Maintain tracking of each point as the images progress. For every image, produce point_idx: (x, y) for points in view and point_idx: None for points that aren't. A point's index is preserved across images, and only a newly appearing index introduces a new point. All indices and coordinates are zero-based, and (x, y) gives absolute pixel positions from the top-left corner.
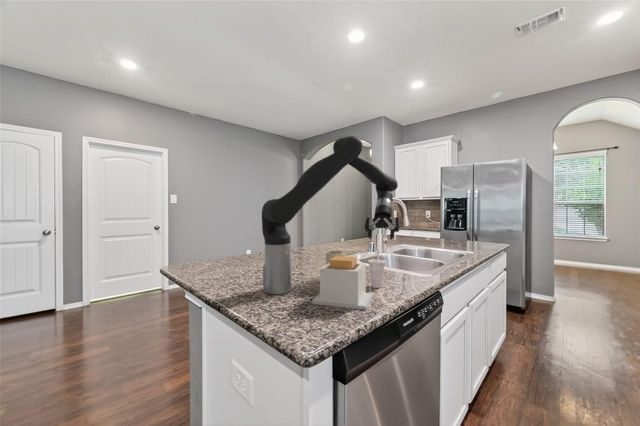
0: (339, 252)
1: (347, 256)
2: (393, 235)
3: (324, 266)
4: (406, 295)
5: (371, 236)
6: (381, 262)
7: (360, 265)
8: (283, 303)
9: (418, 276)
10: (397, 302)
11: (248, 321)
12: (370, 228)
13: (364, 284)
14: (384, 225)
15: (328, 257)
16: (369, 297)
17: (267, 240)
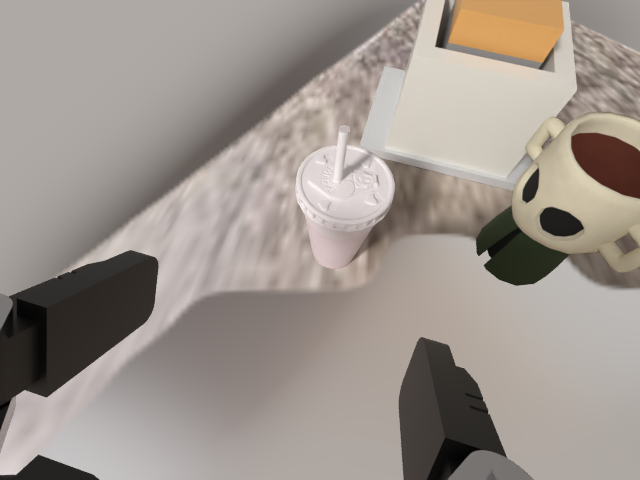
0: (609, 197)
1: (505, 17)
2: (95, 263)
3: (566, 24)
4: (246, 157)
5: (405, 411)
6: (323, 147)
7: (431, 29)
8: (602, 109)
9: (31, 456)
10: (294, 110)
11: (611, 39)
12: (483, 460)
13: (396, 107)
14: (61, 471)
15: (628, 143)
16: (374, 114)
17: None
